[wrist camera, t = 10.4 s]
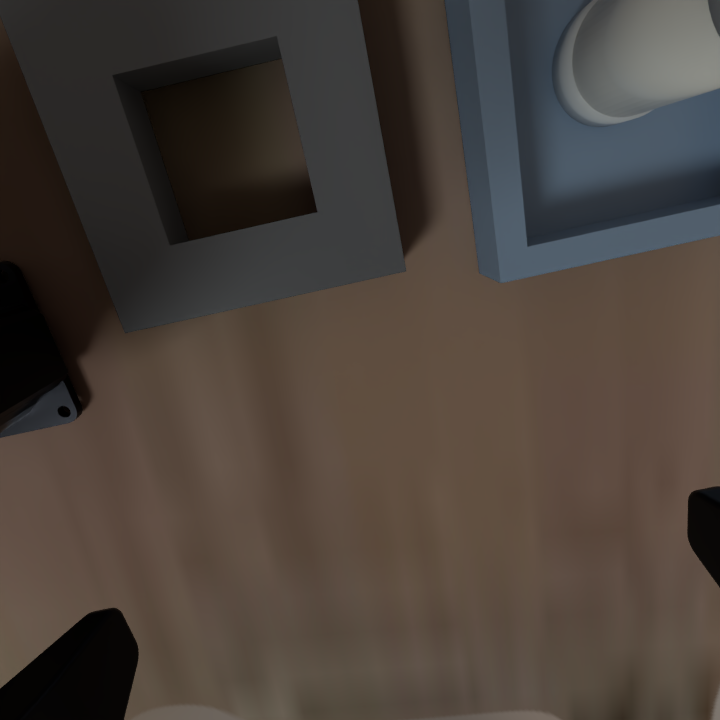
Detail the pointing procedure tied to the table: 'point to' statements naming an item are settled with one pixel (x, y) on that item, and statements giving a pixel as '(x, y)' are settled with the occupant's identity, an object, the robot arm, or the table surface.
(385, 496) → the table surface
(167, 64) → the grey flat square frame
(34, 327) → the robot arm
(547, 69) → the parts tray
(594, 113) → the grey rounded piece
